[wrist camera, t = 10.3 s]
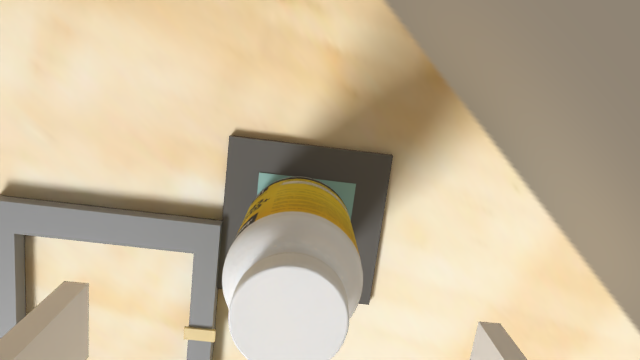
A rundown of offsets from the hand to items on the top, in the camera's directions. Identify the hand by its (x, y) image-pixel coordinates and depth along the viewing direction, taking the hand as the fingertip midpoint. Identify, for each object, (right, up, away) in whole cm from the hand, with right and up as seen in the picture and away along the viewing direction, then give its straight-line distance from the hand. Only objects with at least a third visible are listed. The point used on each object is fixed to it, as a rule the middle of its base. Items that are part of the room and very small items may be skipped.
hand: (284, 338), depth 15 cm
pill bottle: (0, +3, +14) cm, 14 cm away
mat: (0, +3, +14) cm, 14 cm away
